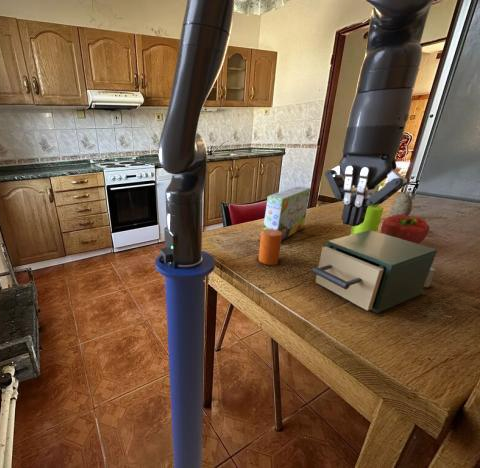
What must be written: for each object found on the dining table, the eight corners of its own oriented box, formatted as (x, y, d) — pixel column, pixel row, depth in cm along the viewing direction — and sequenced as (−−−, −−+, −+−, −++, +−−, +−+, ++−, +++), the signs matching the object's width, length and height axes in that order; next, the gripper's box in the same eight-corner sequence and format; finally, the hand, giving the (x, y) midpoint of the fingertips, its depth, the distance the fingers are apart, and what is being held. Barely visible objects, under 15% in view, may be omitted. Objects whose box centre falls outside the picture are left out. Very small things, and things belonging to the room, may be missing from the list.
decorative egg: (384, 217, 101) (392, 192, 97) (393, 215, 103) (400, 190, 100) (402, 221, 96) (411, 195, 92) (411, 219, 98) (419, 193, 95)
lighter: (429, 287, 57) (442, 254, 54) (421, 287, 57) (433, 254, 54) (403, 271, 64) (413, 241, 61) (396, 271, 64) (405, 241, 61)
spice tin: (267, 266, 68) (271, 237, 65) (254, 258, 73) (257, 230, 70) (282, 262, 70) (286, 233, 67) (268, 255, 75) (272, 227, 72)
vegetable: (429, 256, 70) (442, 221, 67) (382, 250, 75) (392, 217, 71) (414, 241, 80) (424, 210, 76) (373, 237, 84) (381, 207, 80)
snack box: (277, 245, 81) (283, 198, 75) (261, 240, 85) (265, 195, 79) (304, 227, 94) (311, 187, 88) (289, 224, 98) (295, 185, 92)
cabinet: (377, 313, 50) (392, 265, 46) (319, 282, 61) (327, 240, 57) (420, 294, 55) (437, 249, 51) (359, 268, 66) (370, 229, 62)
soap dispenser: (347, 243, 80) (363, 178, 73) (374, 250, 75) (393, 181, 68) (339, 248, 77) (354, 181, 70) (366, 256, 72) (386, 184, 65)
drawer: (350, 318, 47) (361, 277, 44) (299, 287, 57) (305, 251, 54) (409, 293, 54) (423, 255, 51) (354, 269, 64) (362, 236, 60)
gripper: (321, 125, 46) (306, 218, 52) (411, 121, 34) (377, 240, 41) (349, 125, 48) (331, 212, 55) (442, 120, 37) (405, 232, 43)
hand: (351, 224), depth 48 cm, fingers closed
